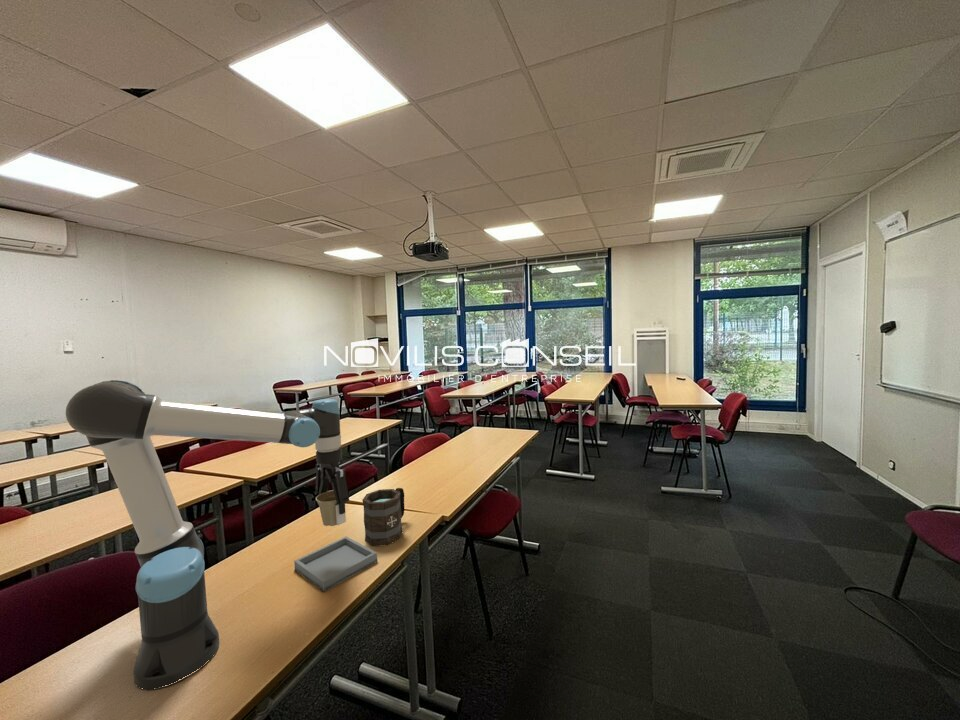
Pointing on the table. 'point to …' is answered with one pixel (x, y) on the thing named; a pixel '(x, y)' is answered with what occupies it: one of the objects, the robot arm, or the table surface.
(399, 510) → the mug
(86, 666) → the table surface
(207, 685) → the table surface
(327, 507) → the flower pot
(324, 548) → the tray
